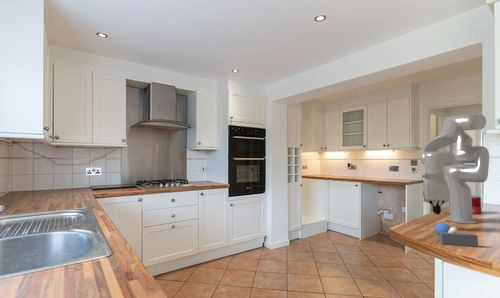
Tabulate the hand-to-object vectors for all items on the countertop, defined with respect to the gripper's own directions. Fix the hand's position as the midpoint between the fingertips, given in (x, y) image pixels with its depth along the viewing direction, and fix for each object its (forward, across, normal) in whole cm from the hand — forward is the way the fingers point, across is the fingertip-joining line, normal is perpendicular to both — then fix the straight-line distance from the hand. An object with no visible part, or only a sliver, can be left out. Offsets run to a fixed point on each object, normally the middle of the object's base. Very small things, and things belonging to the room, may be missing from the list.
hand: (436, 213), depth 126 cm
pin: (+6, -1, -16) cm, 17 cm away
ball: (+4, -2, -12) cm, 13 cm away
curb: (+7, -1, -24) cm, 25 cm away
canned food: (+11, +35, +47) cm, 60 cm away
